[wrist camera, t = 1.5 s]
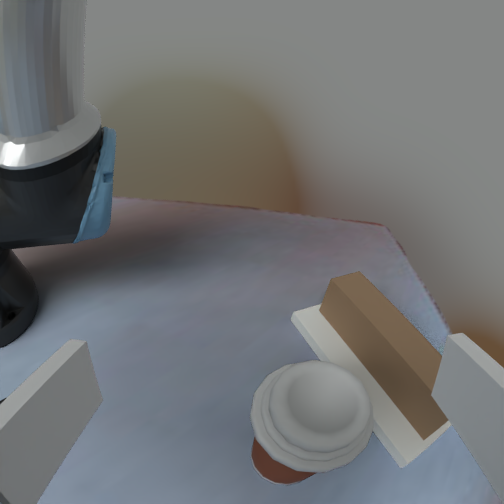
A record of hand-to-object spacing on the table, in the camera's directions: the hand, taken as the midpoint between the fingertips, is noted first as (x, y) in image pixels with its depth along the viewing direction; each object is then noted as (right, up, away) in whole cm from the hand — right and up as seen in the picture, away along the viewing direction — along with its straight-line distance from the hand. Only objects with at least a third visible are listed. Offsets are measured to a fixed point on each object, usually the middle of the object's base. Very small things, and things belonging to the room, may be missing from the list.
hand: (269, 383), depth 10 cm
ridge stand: (+15, -10, +25) cm, 31 cm away
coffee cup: (+2, -15, +16) cm, 22 cm away
